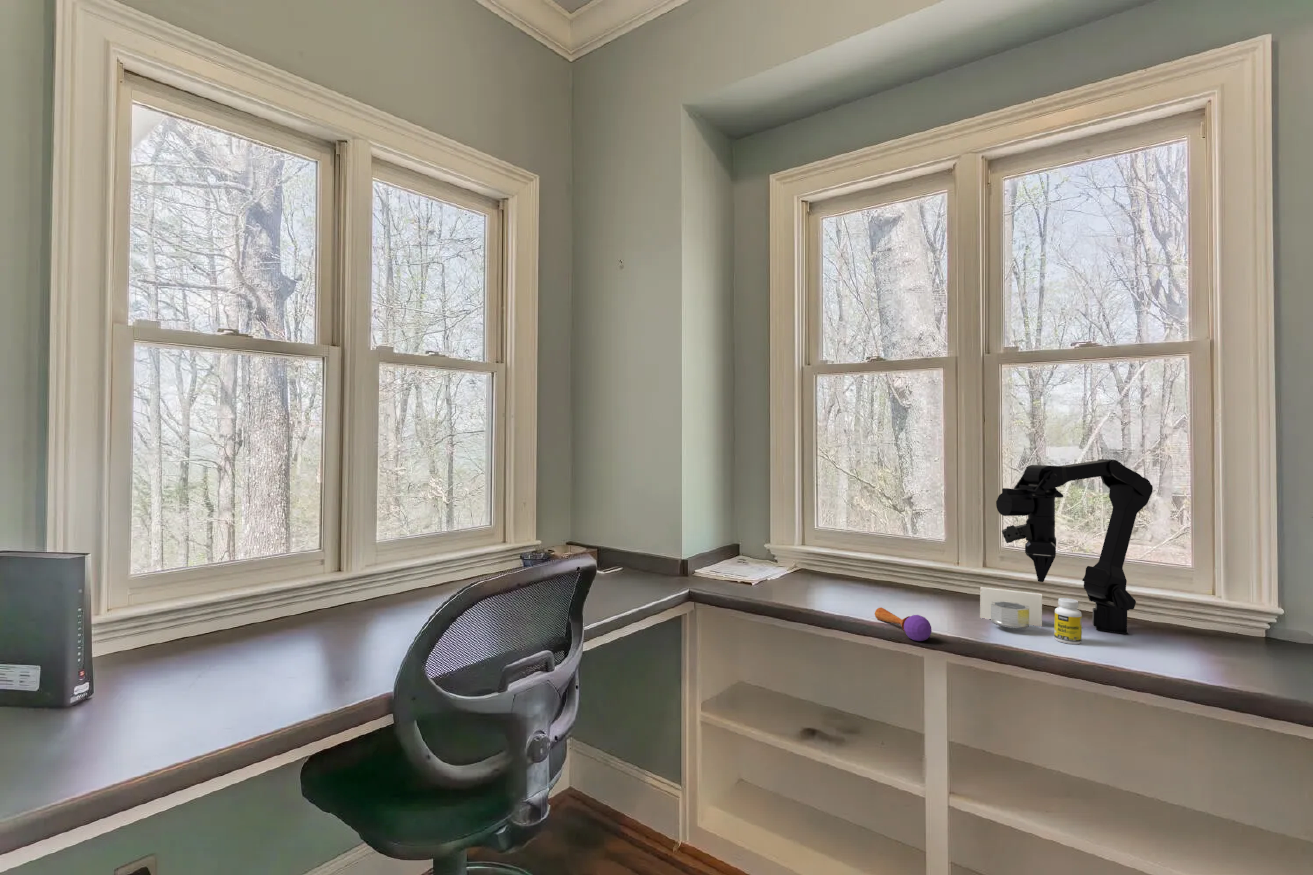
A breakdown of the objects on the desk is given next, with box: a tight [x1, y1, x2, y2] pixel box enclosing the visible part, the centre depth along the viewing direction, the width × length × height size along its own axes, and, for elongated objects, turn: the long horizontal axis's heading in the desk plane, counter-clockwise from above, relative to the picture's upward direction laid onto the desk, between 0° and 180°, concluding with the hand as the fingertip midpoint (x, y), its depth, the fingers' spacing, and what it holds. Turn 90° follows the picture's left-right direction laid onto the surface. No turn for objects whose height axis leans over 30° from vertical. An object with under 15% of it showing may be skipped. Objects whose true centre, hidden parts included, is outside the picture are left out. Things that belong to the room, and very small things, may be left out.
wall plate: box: [979, 586, 1043, 627], centre depth 163 cm, size 14×2×8 cm, turn 60°
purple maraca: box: [874, 607, 932, 642], centre depth 154 cm, size 6×6×20 cm
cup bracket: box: [990, 601, 1030, 629], centre depth 157 cm, size 8×11×4 cm
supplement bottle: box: [1053, 597, 1083, 645], centre depth 147 cm, size 5×5×10 cm
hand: (1041, 578), depth 154 cm, fingers open, 9 cm apart
